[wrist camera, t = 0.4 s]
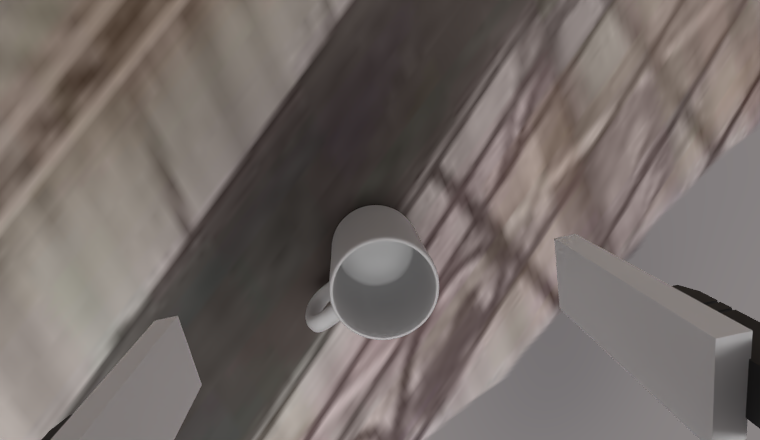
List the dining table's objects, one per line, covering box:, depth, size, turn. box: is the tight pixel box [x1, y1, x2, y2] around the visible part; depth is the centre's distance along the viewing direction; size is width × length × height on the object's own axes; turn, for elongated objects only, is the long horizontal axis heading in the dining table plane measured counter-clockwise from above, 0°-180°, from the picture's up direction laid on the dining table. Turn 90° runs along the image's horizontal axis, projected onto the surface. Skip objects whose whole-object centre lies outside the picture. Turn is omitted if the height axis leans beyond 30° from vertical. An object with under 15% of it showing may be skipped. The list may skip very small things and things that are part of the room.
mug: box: [306, 205, 439, 340], centre depth 37 cm, size 12×8×11 cm
